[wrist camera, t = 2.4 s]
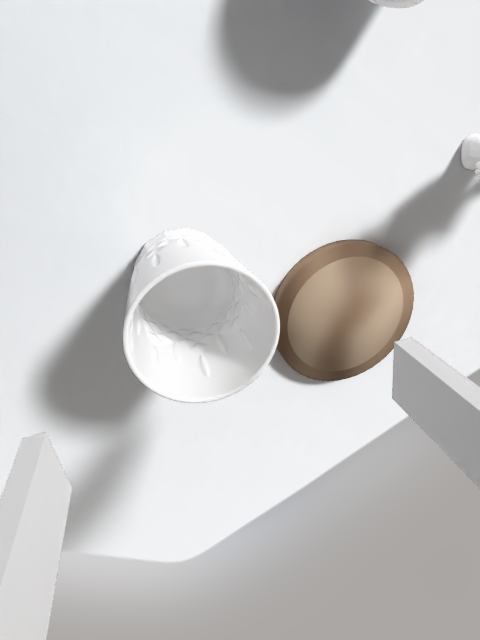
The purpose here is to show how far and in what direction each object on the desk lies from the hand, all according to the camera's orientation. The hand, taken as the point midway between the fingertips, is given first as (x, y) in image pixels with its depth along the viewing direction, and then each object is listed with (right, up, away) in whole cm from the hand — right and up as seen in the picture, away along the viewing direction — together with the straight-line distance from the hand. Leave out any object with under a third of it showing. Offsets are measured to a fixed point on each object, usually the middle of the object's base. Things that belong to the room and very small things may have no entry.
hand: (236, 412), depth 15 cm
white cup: (-4, +7, +14) cm, 16 cm away
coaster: (+8, +4, +18) cm, 21 cm away
